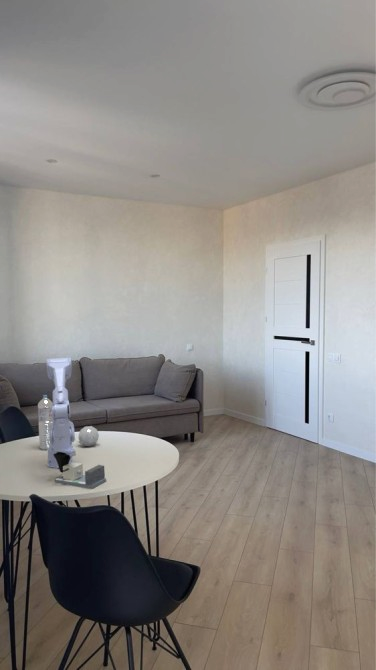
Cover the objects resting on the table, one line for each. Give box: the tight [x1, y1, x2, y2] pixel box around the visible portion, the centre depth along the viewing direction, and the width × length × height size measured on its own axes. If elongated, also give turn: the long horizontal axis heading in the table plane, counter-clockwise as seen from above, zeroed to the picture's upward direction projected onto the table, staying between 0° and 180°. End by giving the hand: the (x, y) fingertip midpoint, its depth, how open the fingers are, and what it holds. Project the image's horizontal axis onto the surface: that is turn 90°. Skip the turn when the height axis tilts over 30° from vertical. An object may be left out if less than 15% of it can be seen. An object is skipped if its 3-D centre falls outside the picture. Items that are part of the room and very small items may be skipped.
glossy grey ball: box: [77, 425, 100, 448], centre depth 229 cm, size 9×10×15 cm
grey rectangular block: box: [84, 464, 106, 485], centre depth 173 cm, size 2×8×5 cm, turn 154°
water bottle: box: [37, 394, 53, 451], centre depth 224 cm, size 7×7×25 cm
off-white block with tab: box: [62, 461, 84, 480], centre depth 176 cm, size 6×8×5 cm
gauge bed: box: [54, 474, 107, 490], centre depth 176 cm, size 17×8×2 cm, turn 64°
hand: (63, 471), depth 179 cm, fingers closed
